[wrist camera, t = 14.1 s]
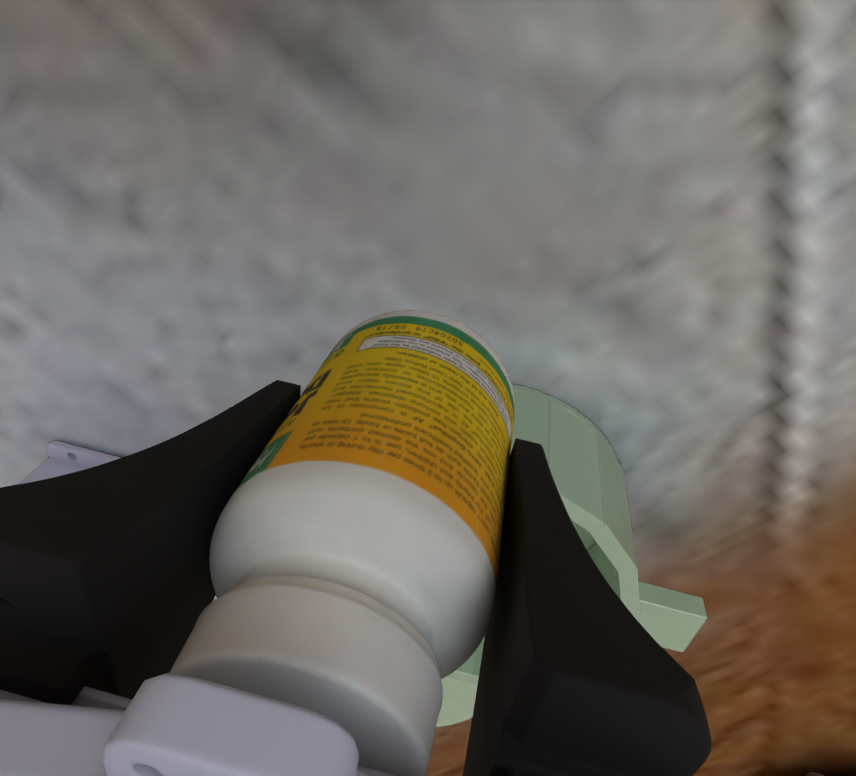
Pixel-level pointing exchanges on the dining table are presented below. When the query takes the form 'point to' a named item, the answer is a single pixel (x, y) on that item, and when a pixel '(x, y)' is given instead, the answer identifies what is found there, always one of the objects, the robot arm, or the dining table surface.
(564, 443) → the pot
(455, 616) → the supplement bottle
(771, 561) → the dining table surface
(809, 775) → the ceramic sculpture
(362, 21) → the dining table surface
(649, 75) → the dining table surface
